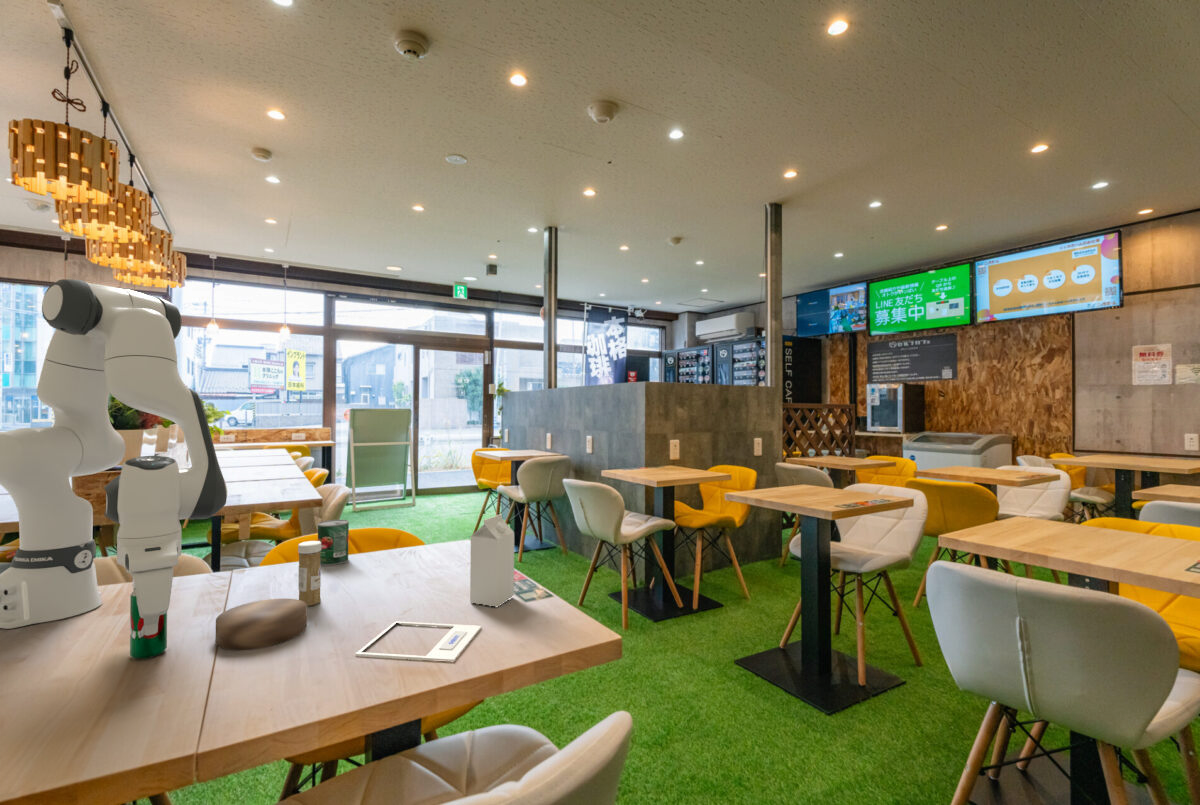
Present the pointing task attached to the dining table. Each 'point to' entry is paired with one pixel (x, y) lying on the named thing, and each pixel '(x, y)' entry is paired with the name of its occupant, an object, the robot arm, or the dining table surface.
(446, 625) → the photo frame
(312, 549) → the sprinkles bottle
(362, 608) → the dining table surface
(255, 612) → the walnut riser
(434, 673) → the dining table surface
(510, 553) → the milk carton
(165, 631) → the soda can
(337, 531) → the canned tomato
